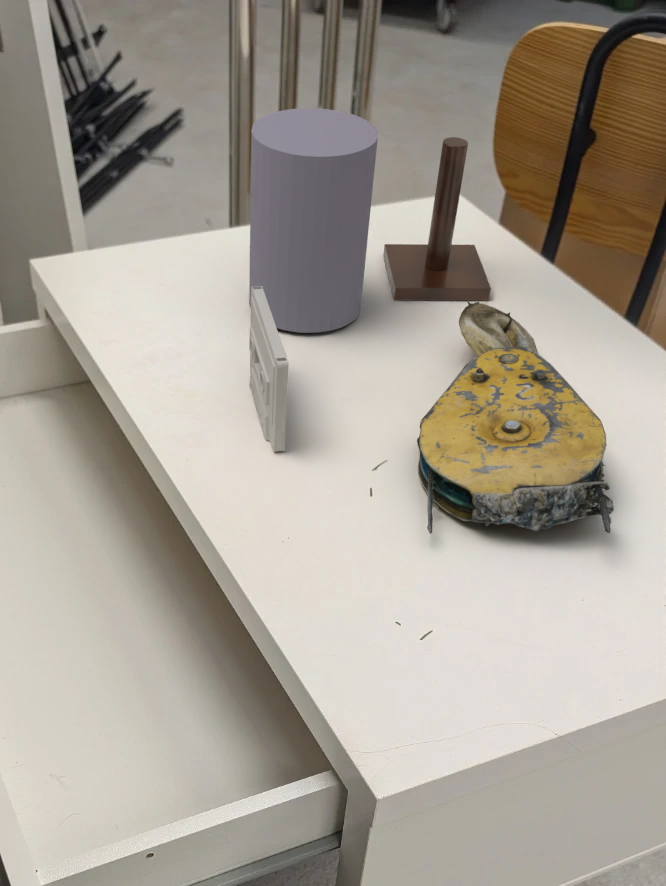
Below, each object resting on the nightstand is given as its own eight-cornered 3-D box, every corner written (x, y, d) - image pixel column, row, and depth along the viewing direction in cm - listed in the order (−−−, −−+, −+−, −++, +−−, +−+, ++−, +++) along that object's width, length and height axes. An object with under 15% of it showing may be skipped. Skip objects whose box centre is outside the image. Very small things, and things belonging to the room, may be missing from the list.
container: (340, 345, 90) (355, 165, 79) (232, 322, 92) (232, 143, 81) (374, 293, 97) (393, 119, 85) (272, 272, 99) (277, 100, 87)
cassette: (291, 453, 80) (295, 362, 74) (267, 454, 79) (270, 364, 74) (265, 371, 87) (267, 283, 81) (243, 372, 87) (244, 284, 81)
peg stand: (472, 256, 102) (496, 122, 93) (488, 300, 96) (516, 162, 87) (383, 256, 102) (398, 121, 92) (394, 300, 96) (411, 161, 87)
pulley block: (590, 274, 86) (630, 492, 67) (582, 338, 90) (619, 560, 71) (420, 286, 88) (412, 499, 69) (421, 348, 93) (414, 565, 73)
